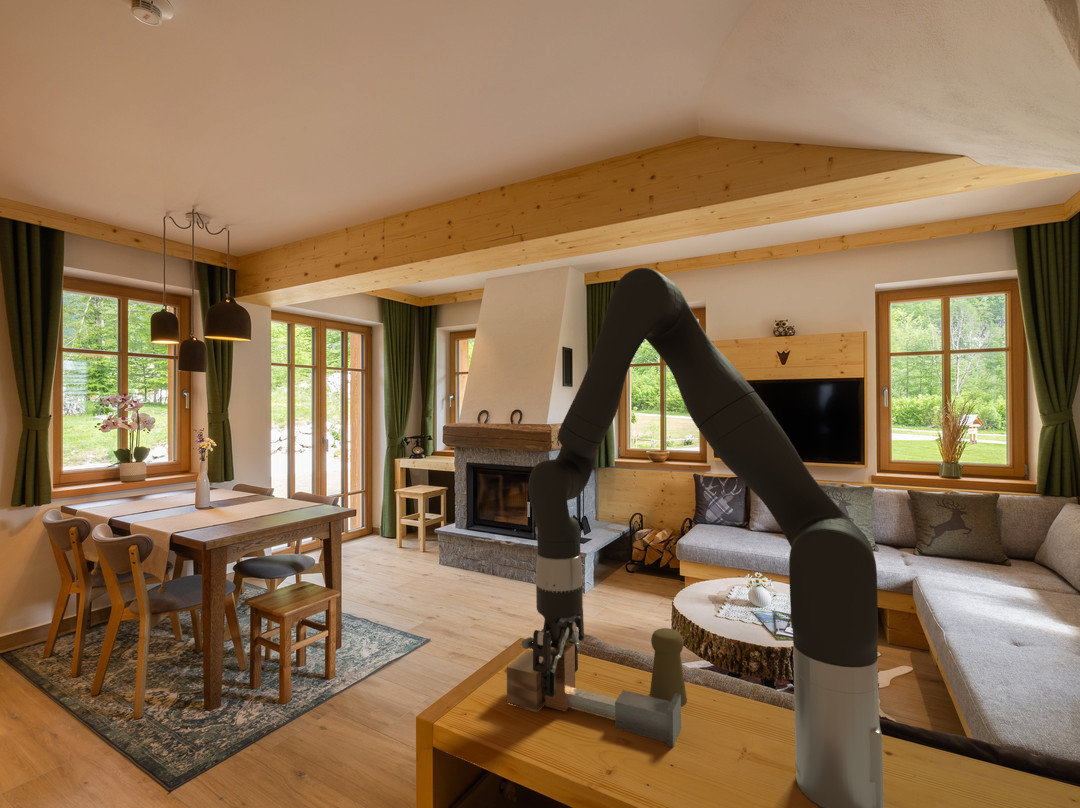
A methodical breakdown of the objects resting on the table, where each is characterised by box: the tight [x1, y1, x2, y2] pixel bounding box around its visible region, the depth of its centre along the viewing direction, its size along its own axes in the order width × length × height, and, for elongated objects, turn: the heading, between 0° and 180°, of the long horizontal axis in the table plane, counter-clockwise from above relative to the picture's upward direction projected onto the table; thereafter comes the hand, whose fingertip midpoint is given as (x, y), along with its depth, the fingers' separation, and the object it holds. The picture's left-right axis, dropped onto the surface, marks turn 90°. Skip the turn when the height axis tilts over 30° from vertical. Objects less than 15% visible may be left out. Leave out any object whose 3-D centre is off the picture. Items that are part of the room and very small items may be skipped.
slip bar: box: [543, 643, 617, 720], centre depth 84 cm, size 18×4×9 cm, turn 62°
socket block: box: [506, 649, 545, 713], centre depth 88 cm, size 6×7×6 cm
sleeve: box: [614, 689, 682, 748], centre depth 78 cm, size 9×5×5 cm, turn 62°
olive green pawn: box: [649, 627, 688, 708], centre depth 87 cm, size 6×6×11 cm
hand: (560, 682), depth 85 cm, fingers open, 8 cm apart
